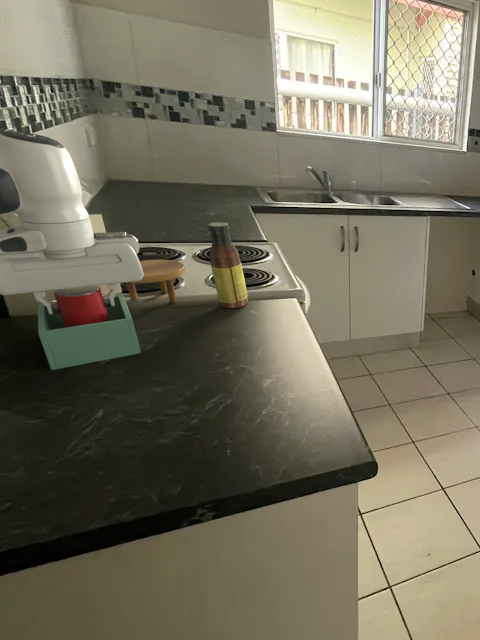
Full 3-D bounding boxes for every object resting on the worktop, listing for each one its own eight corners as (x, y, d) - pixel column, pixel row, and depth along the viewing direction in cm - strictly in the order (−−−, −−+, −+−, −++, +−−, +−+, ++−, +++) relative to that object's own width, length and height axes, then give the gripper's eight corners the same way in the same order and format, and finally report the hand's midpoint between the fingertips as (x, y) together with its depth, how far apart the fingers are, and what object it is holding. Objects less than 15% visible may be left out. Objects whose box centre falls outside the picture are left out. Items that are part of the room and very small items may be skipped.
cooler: (141, 356, 90) (132, 319, 87) (52, 373, 82) (38, 333, 79) (131, 328, 100) (122, 294, 96) (50, 342, 92) (37, 304, 88)
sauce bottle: (244, 298, 120) (233, 219, 111) (251, 307, 116) (240, 225, 107) (215, 302, 116) (200, 221, 107) (221, 311, 112) (206, 227, 103)
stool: (110, 303, 110) (100, 270, 107) (160, 286, 122) (153, 256, 118) (155, 313, 107) (147, 279, 104) (202, 295, 119) (197, 265, 116)
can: (62, 348, 88) (44, 291, 84) (97, 335, 94) (82, 281, 89) (89, 355, 87) (72, 298, 82) (123, 341, 93) (109, 287, 88)
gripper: (133, 227, 90) (149, 295, 96) (-23, 235, 77) (6, 313, 83) (137, 234, 86) (154, 305, 92) (-26, 244, 73) (5, 325, 79)
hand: (82, 309), depth 87 cm, fingers closed on can, 6 cm apart
